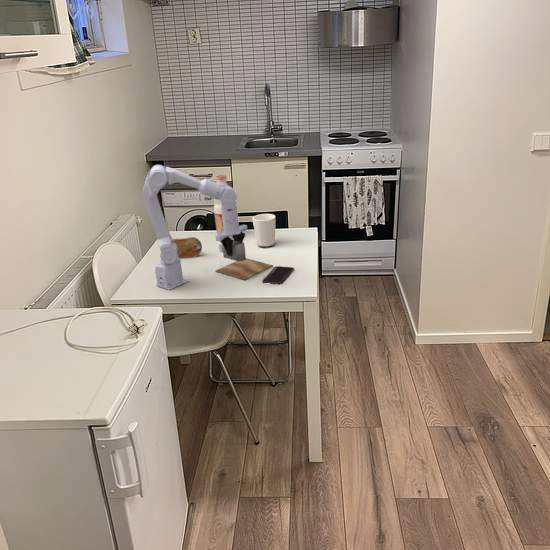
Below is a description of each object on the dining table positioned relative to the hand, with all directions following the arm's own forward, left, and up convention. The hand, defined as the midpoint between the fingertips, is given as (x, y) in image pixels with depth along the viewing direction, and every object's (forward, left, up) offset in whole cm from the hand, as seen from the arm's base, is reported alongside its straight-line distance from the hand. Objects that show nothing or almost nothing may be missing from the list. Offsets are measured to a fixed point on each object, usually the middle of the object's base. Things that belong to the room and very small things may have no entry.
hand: (234, 253), depth 214 cm
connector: (0, 0, -2) cm, 2 cm away
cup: (+31, +12, -9) cm, 34 cm away
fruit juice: (+31, +36, -9) cm, 48 cm away
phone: (+8, -15, -9) cm, 19 cm away
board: (+6, +1, -9) cm, 10 cm away
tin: (+3, +33, -9) cm, 34 cm away
